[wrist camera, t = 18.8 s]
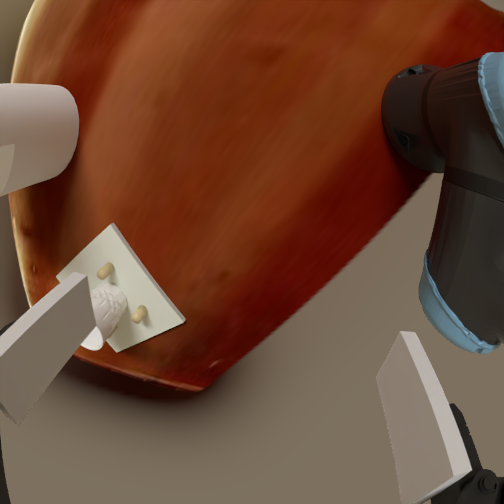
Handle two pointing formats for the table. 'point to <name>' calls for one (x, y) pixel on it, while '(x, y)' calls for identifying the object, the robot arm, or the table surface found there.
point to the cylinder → (35, 133)
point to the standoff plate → (125, 288)
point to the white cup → (105, 313)
